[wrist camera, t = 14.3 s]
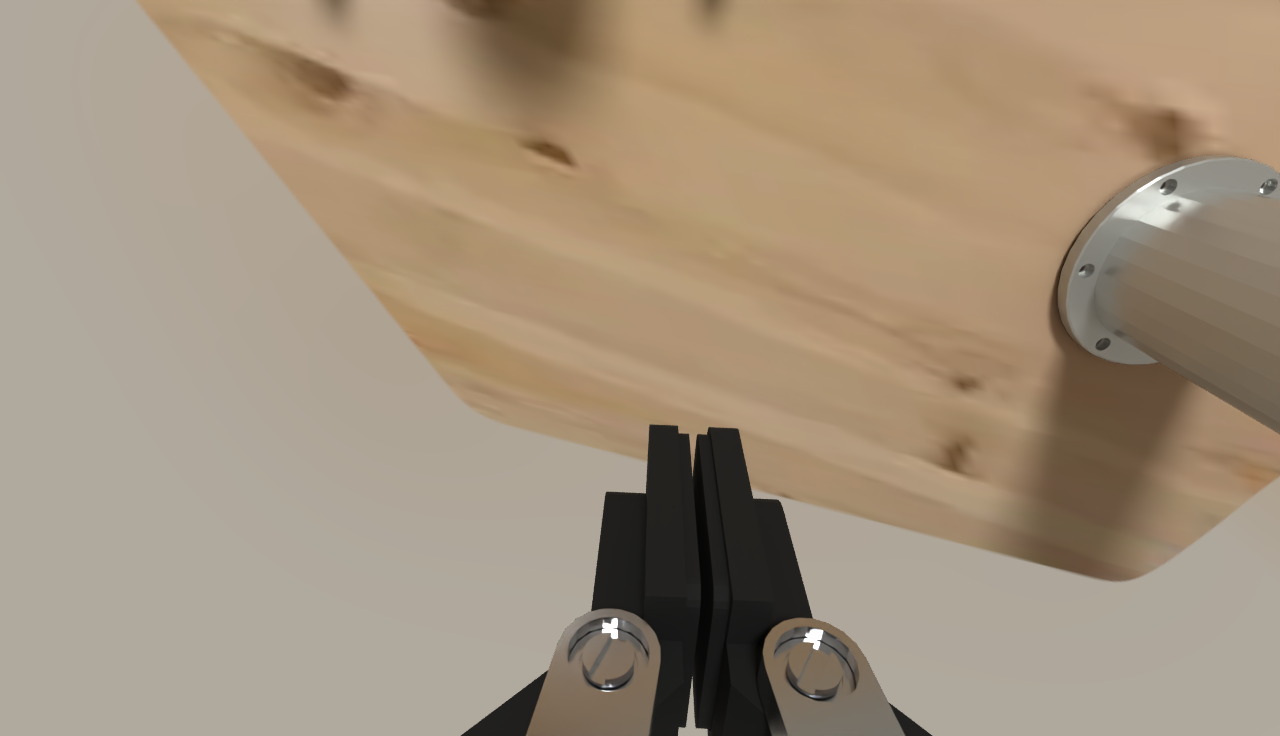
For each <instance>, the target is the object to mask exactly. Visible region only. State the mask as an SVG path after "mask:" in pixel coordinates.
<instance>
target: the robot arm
mask: <svg viewBox="0 0 1280 736" xmlns="http://www.w3.org/2000/svg"><path fill="white" fill-rule="evenodd" d="M1058 309H1059V313H1060V317H1061V321H1062V323H1063V325H1064V327H1065V328H1066V330H1067V332H1068V334H1069V335H1070V336H1071V337H1072V338H1073V339H1074V340H1075V341H1076V342H1077V343H1078V344H1079V345H1080V346H1081V347H1083V348H1084V349H1086V350H1087V351H1089V352H1090V353H1092V354H1093V355H1095V356H1097V357H1100V358H1102V359H1105V360H1107V361H1109V362H1114V363H1120V364H1125V365H1146V364H1153V363H1161V364H1163V365H1164V366H1166V367H1168V368H1169V369H1171V370H1173V371H1175V372H1176V373H1178V374H1180V375H1181V376H1183V377H1185V378H1186V379H1188V380H1190V381H1191V382H1193V383H1195V384H1196V385H1198V386H1200V387H1201V388H1203V389H1205V390H1206V391H1208V392H1210V393H1211V394H1213V395H1215V396H1216V397H1218V398H1220V399H1221V400H1223V401H1225V402H1226V403H1228V404H1230V405H1231V406H1233V407H1235V408H1236V409H1238V410H1240V411H1241V412H1243V413H1245V414H1246V415H1248V416H1250V417H1251V418H1253V419H1255V420H1256V421H1258V422H1260V423H1261V424H1263V425H1265V426H1266V427H1268V428H1270V429H1271V430H1273V431H1275V432H1276V433H1278V434H1280V173H1279V172H1277V171H1276V170H1275V169H1273V168H1272V167H1270V166H1268V165H1266V164H1263V163H1260V162H1257V161H1255V160H1252V159H1246V158H1241V157H1235V156H1229V155H1206V156H1200V157H1195V158H1190V159H1184V160H1181V161H1178V162H1176V163H1173V164H1170V165H1167V166H1164V167H1162V168H1159V169H1157V170H1155V171H1153V172H1152V173H1150V174H1148V175H1146V176H1144V177H1142V178H1140V179H1138V180H1137V181H1135V182H1134V183H1132V184H1131V185H1130V186H1128V187H1127V188H1125V189H1124V190H1123V191H1121V192H1120V193H1118V194H1117V195H1116V196H1115V197H1113V198H1112V199H1111V200H1110V201H1109V202H1108V203H1107V204H1106V205H1105V206H1104V207H1103V208H1102V209H1101V210H1099V211H1098V212H1097V213H1096V215H1095V216H1094V217H1093V218H1092V220H1091V221H1090V222H1089V223H1088V224H1087V226H1086V227H1085V228H1084V229H1083V231H1082V232H1081V233H1080V235H1079V237H1078V238H1077V240H1076V242H1075V243H1074V245H1073V247H1072V248H1071V250H1070V252H1069V254H1068V257H1067V259H1066V261H1065V264H1064V266H1063V269H1062V272H1061V277H1060V281H1059V286H1058ZM692 677H693V695H694V712H695V713H694V714H695V724H696V725H695V726H696V728H704V729H708V736H932V735H931V734H929V733H928V732H927V731H926V730H924V729H922V728H921V727H920V726H919V725H918V724H916V723H915V722H914V721H912V720H911V719H910V718H908V717H907V716H906V715H904V714H903V713H902V712H900V711H899V710H898V709H897V708H895V707H894V706H893V705H891V704H890V703H889V702H888V701H887V699H886V697H885V695H884V693H883V691H882V689H881V687H880V685H879V683H878V681H877V679H876V677H875V675H874V673H873V671H872V669H871V667H870V665H869V663H868V661H867V659H866V657H865V656H864V654H863V653H862V651H861V650H860V648H859V647H858V645H857V644H856V643H855V642H854V641H853V640H852V639H851V638H850V637H848V636H847V635H846V634H845V633H844V632H843V631H841V630H839V629H837V628H835V627H834V626H832V625H830V624H829V623H826V622H822V621H819V620H816V619H813V618H812V614H811V610H810V606H809V603H808V599H807V595H806V592H805V588H804V584H803V581H802V577H801V574H800V570H799V566H798V562H797V558H796V555H795V551H794V548H793V544H792V540H791V537H790V533H789V529H788V525H787V522H786V518H785V514H784V511H783V507H782V505H781V502H780V501H779V500H773V499H753V496H752V491H751V486H750V482H749V477H748V472H747V467H746V463H745V458H744V453H743V448H742V444H741V439H740V434H739V430H738V429H736V428H714V427H709V428H708V432H707V435H702V434H698V435H697V439H696V449H695V459H694V469H693V479H692V466H691V453H690V440H689V434H680V433H678V426H671V425H650V426H649V444H648V463H647V482H646V493H645V494H644V493H625V492H606V495H605V502H604V510H603V519H602V527H601V535H600V543H599V551H598V560H597V568H596V576H595V585H594V593H593V601H592V609H591V612H588V613H586V614H584V615H582V616H580V617H578V618H577V619H575V620H574V621H573V622H572V623H571V624H570V625H569V626H568V627H567V628H566V629H565V631H564V632H563V634H562V636H561V638H560V640H559V641H558V644H557V647H556V649H555V652H554V655H553V658H552V661H551V664H550V667H549V670H548V671H546V672H545V673H544V674H542V675H541V676H540V677H538V678H537V679H536V680H534V681H533V682H532V683H530V684H529V685H528V686H526V687H525V688H524V689H522V690H521V691H520V692H518V693H517V694H516V695H514V696H513V697H512V698H510V699H509V700H508V701H506V702H505V703H504V704H502V705H501V706H500V707H498V708H497V709H496V710H494V711H493V712H492V713H491V714H489V715H488V716H486V717H485V718H484V719H482V720H481V721H480V722H479V723H477V724H476V725H474V726H473V727H472V728H470V729H469V730H468V731H466V732H465V733H464V734H462V735H461V736H678V729H679V727H684V728H685V727H686V721H687V713H688V705H689V697H690V689H691V681H692Z"/></svg>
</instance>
